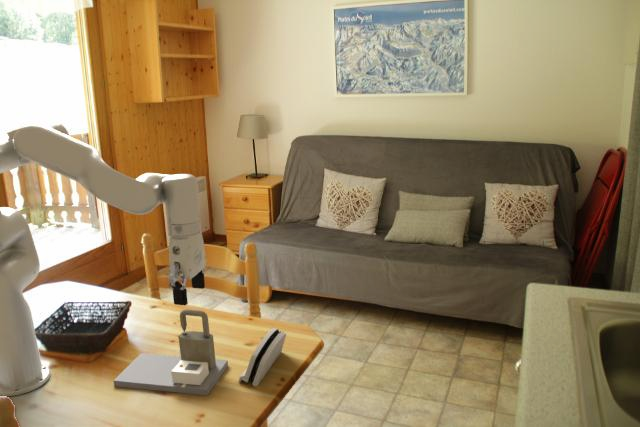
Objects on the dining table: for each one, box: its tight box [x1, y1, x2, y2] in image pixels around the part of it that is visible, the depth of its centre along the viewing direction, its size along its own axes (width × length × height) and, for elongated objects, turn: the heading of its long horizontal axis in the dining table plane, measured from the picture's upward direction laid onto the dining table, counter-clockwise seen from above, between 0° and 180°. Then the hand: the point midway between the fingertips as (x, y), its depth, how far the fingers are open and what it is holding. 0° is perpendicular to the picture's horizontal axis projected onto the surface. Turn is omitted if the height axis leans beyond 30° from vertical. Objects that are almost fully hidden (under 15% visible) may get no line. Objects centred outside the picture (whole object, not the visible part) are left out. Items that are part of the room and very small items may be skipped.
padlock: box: [178, 308, 216, 370], centre depth 136 cm, size 4×8×15 cm, turn 74°
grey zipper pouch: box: [237, 327, 287, 387], centre depth 137 cm, size 17×5×10 cm, turn 163°
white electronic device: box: [171, 360, 209, 385], centre depth 131 cm, size 7×5×3 cm
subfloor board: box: [113, 352, 229, 396], centre depth 136 cm, size 24×13×2 cm, turn 78°
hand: (190, 295), depth 132 cm, fingers open, 9 cm apart
